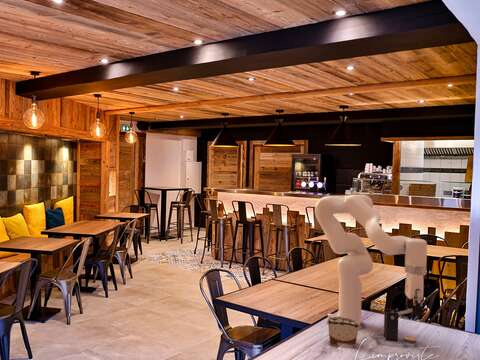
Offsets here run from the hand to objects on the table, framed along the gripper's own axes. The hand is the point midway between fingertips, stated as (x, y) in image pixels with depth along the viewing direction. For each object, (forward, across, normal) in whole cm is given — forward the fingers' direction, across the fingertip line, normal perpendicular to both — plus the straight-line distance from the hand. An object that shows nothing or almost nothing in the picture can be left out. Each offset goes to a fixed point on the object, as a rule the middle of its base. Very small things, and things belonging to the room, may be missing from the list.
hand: (414, 312), depth 186 cm
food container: (+14, +9, -27) cm, 32 cm away
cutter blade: (+2, 0, -3) cm, 4 cm away
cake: (+13, 0, -1) cm, 13 cm away
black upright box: (+13, 0, -8) cm, 16 cm away
